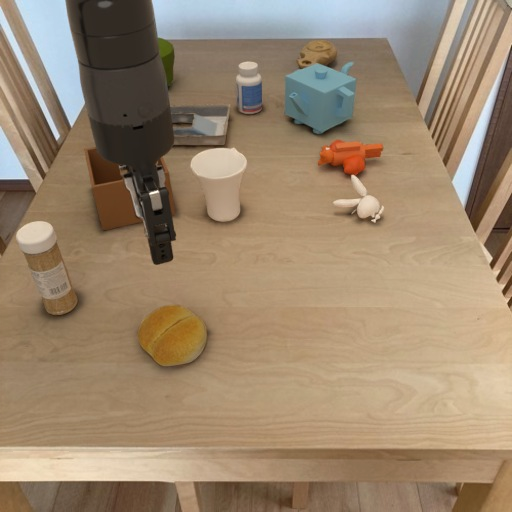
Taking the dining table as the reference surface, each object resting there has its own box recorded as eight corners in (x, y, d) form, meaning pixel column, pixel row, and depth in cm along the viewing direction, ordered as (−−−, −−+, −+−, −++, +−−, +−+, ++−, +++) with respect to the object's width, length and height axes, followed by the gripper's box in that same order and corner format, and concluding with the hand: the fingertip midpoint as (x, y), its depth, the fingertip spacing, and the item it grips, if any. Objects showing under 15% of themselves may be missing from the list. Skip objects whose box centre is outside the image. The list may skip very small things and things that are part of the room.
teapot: (263, 122, 116) (263, 70, 108) (323, 95, 125) (326, 45, 117) (318, 151, 107) (322, 96, 99) (378, 120, 116) (385, 67, 108)
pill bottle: (267, 108, 120) (267, 64, 114) (250, 117, 118) (249, 73, 111) (249, 100, 123) (248, 57, 117) (232, 109, 120) (229, 65, 114)
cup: (260, 205, 94) (259, 154, 88) (227, 235, 89) (223, 183, 82) (218, 189, 98) (214, 139, 91) (184, 216, 92) (178, 165, 86)
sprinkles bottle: (76, 289, 80) (51, 216, 71) (80, 311, 77) (54, 237, 68) (43, 298, 79) (14, 224, 70) (46, 320, 76) (15, 246, 67)
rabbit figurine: (370, 231, 89) (331, 200, 89) (365, 234, 93) (328, 204, 93) (393, 202, 89) (354, 171, 89) (387, 206, 93) (349, 177, 93)
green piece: (183, 77, 133) (178, 29, 126) (170, 100, 124) (163, 50, 117) (133, 75, 135) (125, 27, 127) (116, 97, 126) (107, 48, 118)
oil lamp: (297, 81, 130) (298, 60, 127) (291, 57, 141) (292, 37, 138) (342, 79, 131) (344, 58, 127) (333, 55, 141) (334, 35, 138)
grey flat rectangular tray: (227, 148, 108) (226, 135, 107) (101, 148, 109) (98, 135, 107) (231, 116, 118) (230, 103, 116) (116, 116, 119) (113, 103, 117)
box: (175, 215, 93) (168, 172, 87) (103, 230, 90) (91, 187, 84) (161, 177, 101) (154, 136, 96) (94, 190, 99) (84, 148, 93)
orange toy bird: (380, 129, 101) (316, 136, 100) (391, 161, 98) (325, 168, 96) (374, 148, 106) (312, 154, 104) (384, 179, 102) (321, 186, 101)
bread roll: (171, 380, 68) (166, 360, 65) (130, 339, 73) (125, 319, 70) (222, 343, 72) (220, 323, 69) (180, 307, 77) (177, 286, 74)
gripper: (75, 78, 55) (108, 209, 66) (100, 147, 45) (133, 288, 56) (149, 65, 57) (169, 195, 68) (189, 129, 47) (205, 269, 58)
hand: (153, 237), depth 62 cm, fingers open, 8 cm apart
